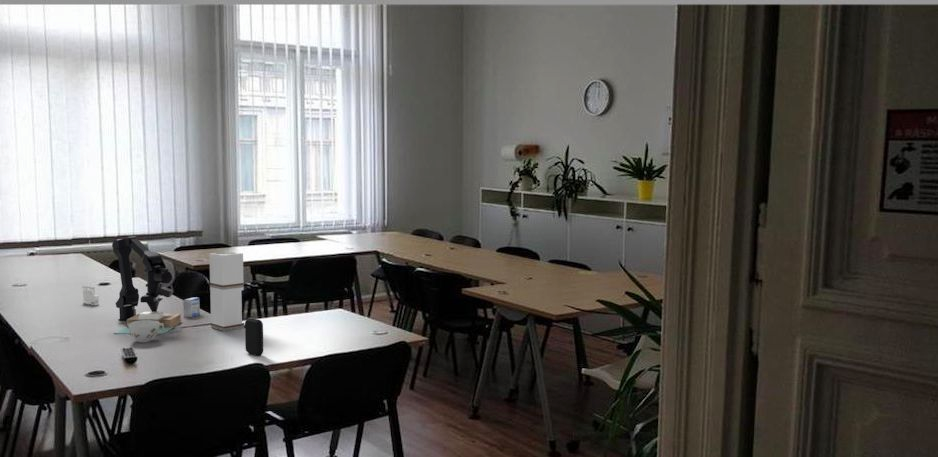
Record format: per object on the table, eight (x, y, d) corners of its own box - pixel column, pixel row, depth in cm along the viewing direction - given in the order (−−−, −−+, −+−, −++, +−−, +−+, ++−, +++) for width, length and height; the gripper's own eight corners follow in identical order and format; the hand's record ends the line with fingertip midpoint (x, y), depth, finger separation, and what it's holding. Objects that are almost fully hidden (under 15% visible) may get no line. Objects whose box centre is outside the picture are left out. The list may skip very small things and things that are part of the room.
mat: (113, 333, 355) (113, 333, 355) (124, 328, 367) (124, 327, 367) (162, 333, 356) (162, 333, 356) (172, 328, 368) (172, 327, 368)
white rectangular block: (139, 319, 367) (139, 314, 367) (144, 316, 373) (143, 311, 373) (158, 319, 368) (158, 314, 368) (163, 316, 374) (163, 311, 374)
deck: (127, 328, 367) (126, 319, 367) (139, 321, 381) (138, 313, 381) (170, 328, 368) (170, 319, 367) (180, 322, 382) (180, 313, 381)
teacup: (135, 345, 333) (134, 327, 332) (124, 340, 342) (123, 322, 341) (170, 340, 343) (169, 322, 343) (158, 335, 352) (158, 317, 352)
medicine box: (191, 317, 393) (191, 300, 393) (183, 316, 394) (182, 299, 393) (199, 314, 401) (199, 297, 400) (191, 313, 402) (191, 297, 401)
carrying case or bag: (242, 353, 322) (241, 317, 320) (248, 351, 324) (247, 316, 323) (259, 357, 315) (258, 320, 314) (265, 355, 318) (264, 319, 317)
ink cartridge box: (87, 302, 430) (86, 285, 429) (99, 305, 424) (98, 287, 424) (82, 303, 428) (82, 285, 427) (94, 305, 422) (94, 287, 421)
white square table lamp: (244, 327, 370) (243, 253, 367) (223, 331, 362) (222, 255, 359) (231, 324, 378) (230, 251, 375) (211, 327, 370) (209, 253, 367)
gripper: (163, 284, 364) (164, 318, 365) (177, 278, 383) (178, 310, 384) (139, 284, 364) (140, 318, 365) (154, 278, 382) (155, 310, 384)
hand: (154, 314), depth 375 cm, fingers closed
